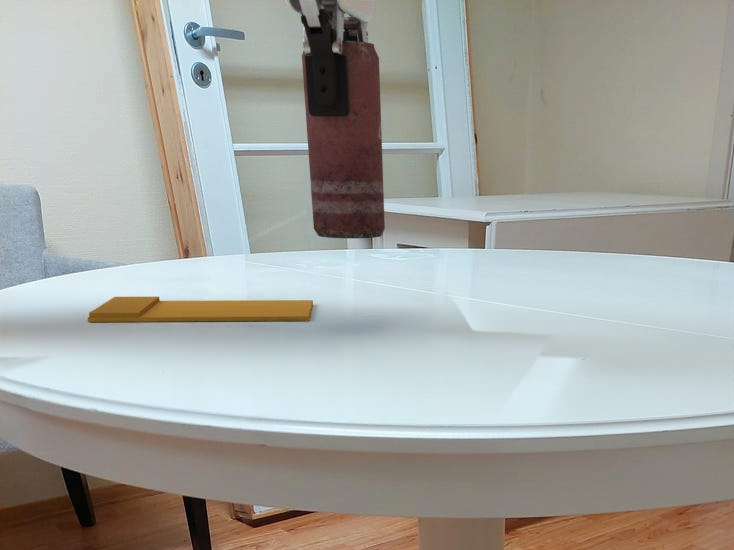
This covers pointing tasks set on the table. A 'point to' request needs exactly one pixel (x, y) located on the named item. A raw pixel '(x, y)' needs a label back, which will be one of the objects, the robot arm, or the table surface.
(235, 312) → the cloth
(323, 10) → the robot arm
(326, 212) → the can
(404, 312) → the table surface
